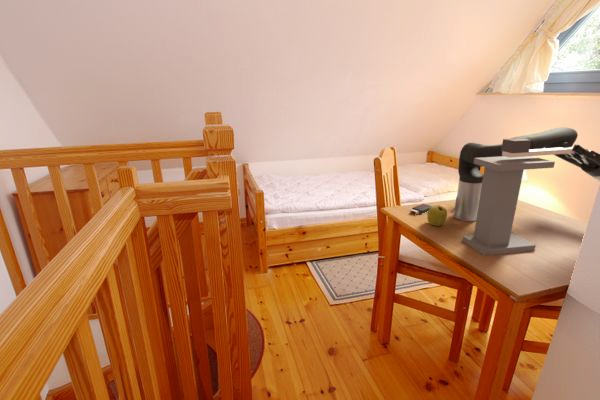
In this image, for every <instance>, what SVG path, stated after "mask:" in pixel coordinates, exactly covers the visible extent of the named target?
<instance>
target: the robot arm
mask: <svg viewBox="0 0 600 400" xmlns="http://www.w3.org/2000/svg"><path fill="white" fill-rule="evenodd" d="M578 136H579V135H578V131H576V130H575V129H573V128H571V127H567V126H566V127H555V128H553V129H552V128H551V129H549V130H545V131H542V132H538V133H532V134H528V135H526V134H525V135H521V136H515V137H511V138H509V139H512V138H522V139H527V140H531V143H530V148H529V149H544V148H559V147H573V148H572V150H573V151H574V152H576V153H569V154H554V155H553V156H555V157H558V158H560V159H561V160H563V161H565V162H567V163H570V164H571V165H574V166H576V167H578V168H580V169H581V170H582V172H585V173H586V174H587V175H589V176H590V177H592V178H593V179H594V180H598V181H599V182H600V152H596V151H595V150H589V149H587V148H585V147H582V146H581V145H580V144H578V143H577V144H575V143H576V141H577V139H578ZM501 148H502V143H500V144H491V145H490V144H489V145H488V144H487V145H486V144H481V143H476V142H467V143H466V144H464V145H463V147H462V148H461V149H460V152H459V158H458V169H457V171H458V175H459V179H458V186H457V193H456V194H457V195H456V197H455V202H454V203H455V205H454V209H453V219H457V220H459V221H463V222H476V218H477V212H478V206H479V200H480V193H481V187H482V181H483V175H484V173H482V172H481V170H480V171H479V169H478V167H481V168H484V167H483V166H480V165H477V164H474V158H482V157H500V156H502V152H503V151H501ZM584 148H585V149H584Z"/></svg>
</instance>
